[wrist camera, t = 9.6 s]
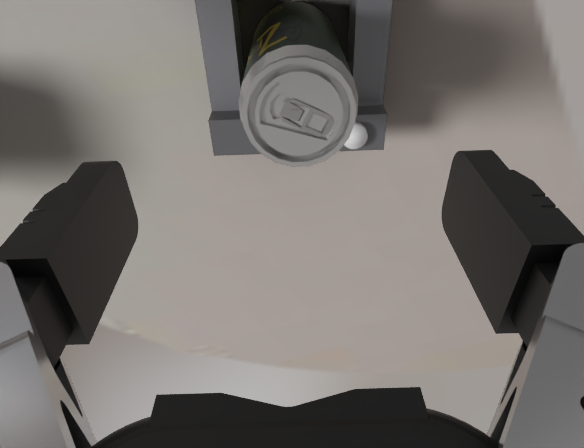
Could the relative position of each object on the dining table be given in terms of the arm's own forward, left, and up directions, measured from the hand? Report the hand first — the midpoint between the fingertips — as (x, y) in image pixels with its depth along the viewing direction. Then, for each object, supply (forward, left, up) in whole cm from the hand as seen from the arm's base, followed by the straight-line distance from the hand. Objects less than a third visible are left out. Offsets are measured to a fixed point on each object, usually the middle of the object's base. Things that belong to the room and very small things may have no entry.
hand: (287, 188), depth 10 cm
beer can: (0, -2, -21) cm, 21 cm away
